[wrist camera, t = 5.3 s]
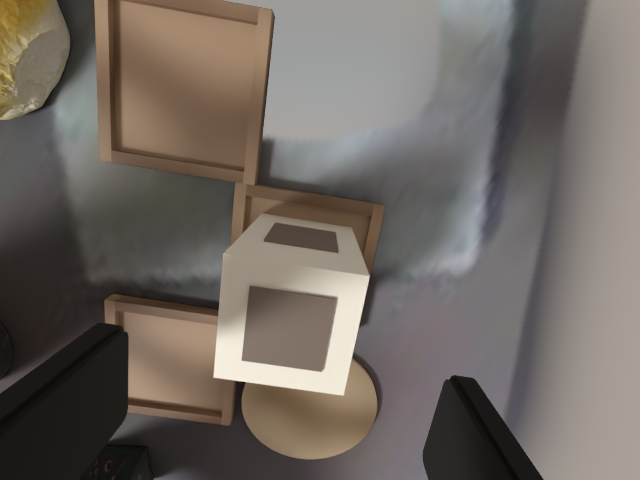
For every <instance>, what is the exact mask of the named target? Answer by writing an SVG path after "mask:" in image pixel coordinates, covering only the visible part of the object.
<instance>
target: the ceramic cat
mask: <svg viewBox="0 0 640 480" xmlns="http://www.w3.org/2000/svg"><path fill="white" fill-rule="evenodd" d="M79 480H153V475H152V472H151V470H150V468H149V462H148V448H143V447H135V446H104V447H103V449H102V450H101V451H100V453H99V454H98V455H97V457H96V458H95V459H94V460H93V462H92V463H91V464H90V466H89V467H88V468H87V470H86V471H85V472H84V474H83V475H82V476H81V477H80V479H79Z"/></svg>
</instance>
